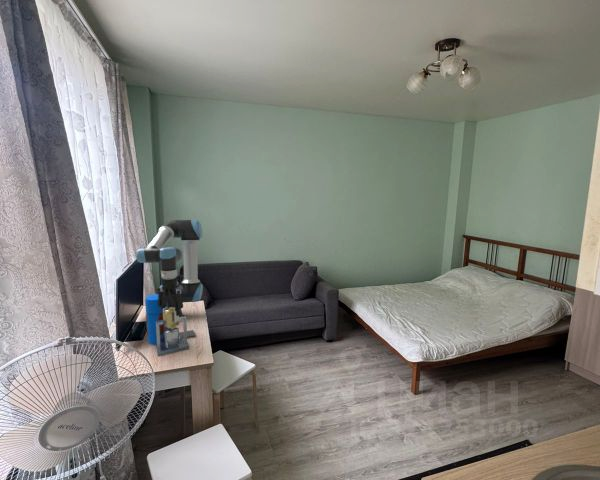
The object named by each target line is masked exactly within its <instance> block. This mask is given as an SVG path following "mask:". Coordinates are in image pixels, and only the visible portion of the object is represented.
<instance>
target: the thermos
mask: <svg viewBox="0 0 600 480" xmlns="http://www.w3.org/2000/svg"><path fill="white" fill-rule="evenodd" d="M166 305H167V304H166ZM166 307H168V305H167V306H166ZM145 319H146V335H147V342H148V344H149V345H154V346H156V343H157V335H156V321H160V320H163V314H162V308H161V307H159V306H158V293H155V294H151V295H148V296H146V297H145ZM166 329H168V328H167V327H164V321H163V324H161V325H159V332H160V342H164V341H165V332H164V331H165V330H166Z"/></svg>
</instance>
